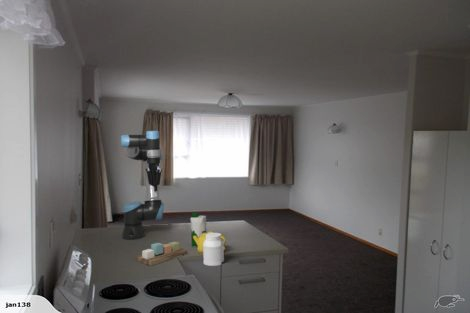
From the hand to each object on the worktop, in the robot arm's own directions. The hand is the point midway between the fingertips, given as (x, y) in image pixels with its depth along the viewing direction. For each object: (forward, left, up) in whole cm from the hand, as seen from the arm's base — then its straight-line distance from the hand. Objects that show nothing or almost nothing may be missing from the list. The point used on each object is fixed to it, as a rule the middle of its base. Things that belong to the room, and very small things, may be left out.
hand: (154, 196), depth 219 cm
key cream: (+13, -15, -31) cm, 37 cm away
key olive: (+13, +3, -31) cm, 34 cm away
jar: (+42, +6, -33) cm, 54 cm away
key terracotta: (+13, -3, -31) cm, 34 cm away
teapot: (+27, +18, -33) cm, 46 cm away
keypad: (+13, -6, -32) cm, 35 cm away
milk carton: (+13, +23, -33) cm, 42 cm away
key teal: (+13, -9, -29) cm, 33 cm away
